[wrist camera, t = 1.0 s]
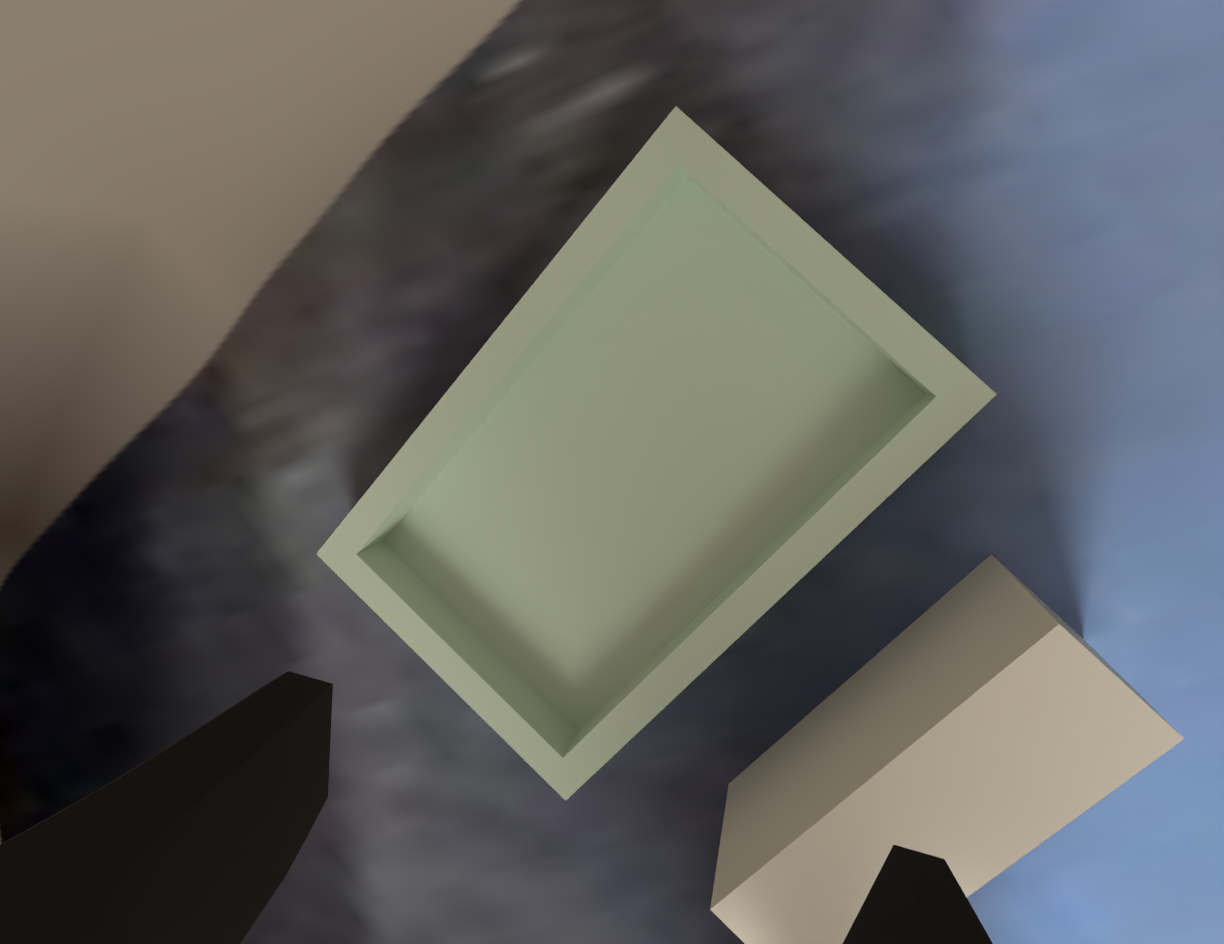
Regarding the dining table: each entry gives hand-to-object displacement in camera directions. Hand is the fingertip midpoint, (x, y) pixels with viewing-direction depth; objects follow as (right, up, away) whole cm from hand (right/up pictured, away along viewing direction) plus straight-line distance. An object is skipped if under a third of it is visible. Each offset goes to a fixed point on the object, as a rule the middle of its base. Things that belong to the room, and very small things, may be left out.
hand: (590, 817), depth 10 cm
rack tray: (+1, +4, +14) cm, 15 cm away
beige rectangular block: (+9, -3, +14) cm, 17 cm away
